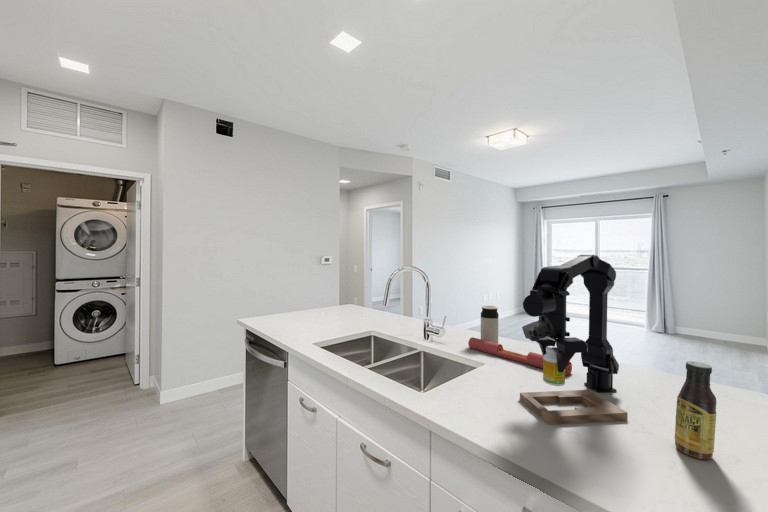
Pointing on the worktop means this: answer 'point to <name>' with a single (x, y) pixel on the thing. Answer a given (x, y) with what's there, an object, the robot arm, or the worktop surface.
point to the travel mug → (489, 324)
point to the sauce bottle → (696, 413)
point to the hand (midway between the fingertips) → (554, 368)
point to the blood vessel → (511, 353)
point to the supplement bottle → (552, 368)
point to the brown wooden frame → (593, 413)
